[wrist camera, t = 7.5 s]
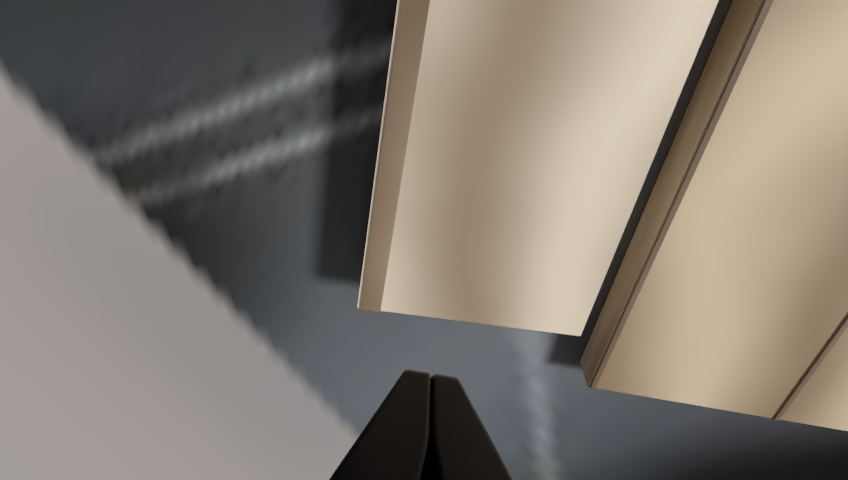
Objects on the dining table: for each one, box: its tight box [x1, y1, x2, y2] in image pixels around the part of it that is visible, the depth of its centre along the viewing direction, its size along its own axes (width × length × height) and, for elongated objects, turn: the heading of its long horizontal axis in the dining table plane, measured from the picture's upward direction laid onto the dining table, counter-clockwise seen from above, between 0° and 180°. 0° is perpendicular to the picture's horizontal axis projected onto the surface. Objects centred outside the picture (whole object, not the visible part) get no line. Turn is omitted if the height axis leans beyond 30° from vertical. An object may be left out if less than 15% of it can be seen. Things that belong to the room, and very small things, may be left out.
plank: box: [357, 0, 719, 336], centre depth 12 cm, size 7×16×1 cm, turn 170°
